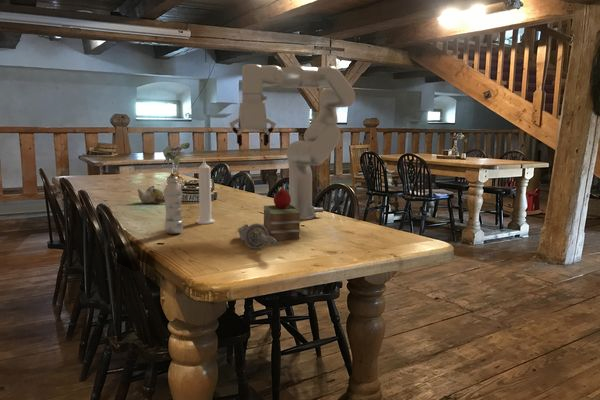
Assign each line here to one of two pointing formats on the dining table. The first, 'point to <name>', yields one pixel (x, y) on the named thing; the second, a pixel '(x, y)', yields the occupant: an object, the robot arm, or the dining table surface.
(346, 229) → the dining table surface
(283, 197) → the onion
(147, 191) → the ceramic sculpture
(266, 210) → the green shadow box
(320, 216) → the dining table surface
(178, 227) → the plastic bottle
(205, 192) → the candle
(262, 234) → the spaceship
